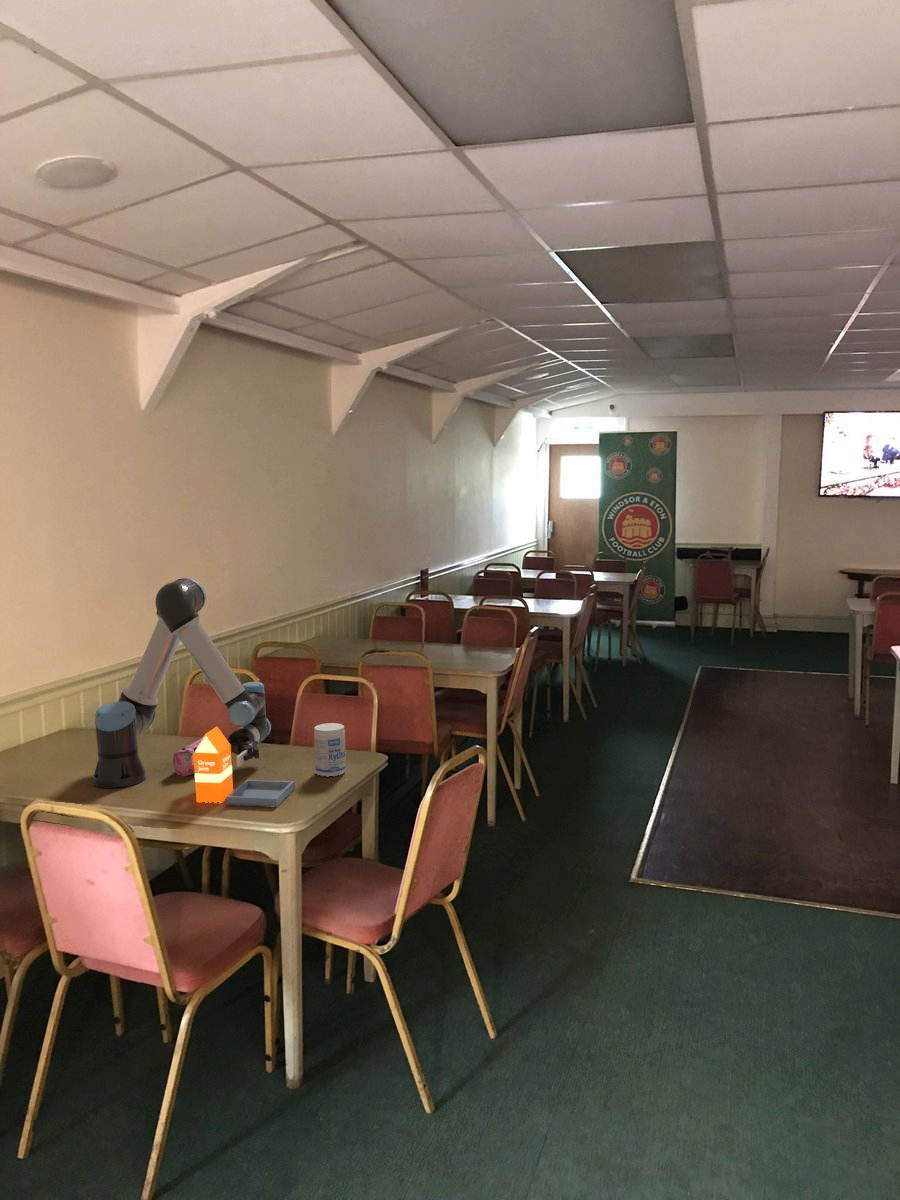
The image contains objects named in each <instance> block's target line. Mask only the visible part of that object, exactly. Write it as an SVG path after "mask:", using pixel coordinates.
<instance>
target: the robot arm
mask: <svg viewBox="0 0 900 1200" xmlns="http://www.w3.org/2000/svg"><path fill="white" fill-rule="evenodd" d="M206 598H207V595H206V592H205V588H204V587H203V585H202V584H201V583H199V582H198V581H197V580H195V579H192V578H188V577H187V578H185V577H182V578H178V579H175V580H174V581H172V582H168V583H166V584H164V585H163V586H162V587H160V588H159V590H158V591H157V594H156V595H155V601H154V602H155V604H154V605H155V607H156V608H155V609H156V613H155V615H156V616H157V618H158V621H157V622H156V625H155V627H154V630H153V632H152V634H151V635H150V636H151V637H150V638H149V641H148V644H147V645H146V648H145V651H144V652H143V656H142V658H141V660H140V662H139V664H138V666H137V669H136V672H135V674H134V676H133V678H132V680H131V683H130V685H129V686H126V687H124V688H123V689H122V691H121V693H120V696H119V698H118V701H113V702H109V703H107V704H103V705H101V706H99V707H98V708H97V709H96V711H95V713H94V725H95V735H96V736H95V737H96V745H97V746H96V748H97V758H98V759H97V761H96V765H95V769H94V774H93V784H95V785H96V786H95V785H94V786H95V787H97V786H98V788H101V787H103V788H102V789H118V788H117V787H120V788H125V787H130V785H131V786H134V785H136V784H140V783H142V782H143V781H145V780H146V778H147V771H146V768H145V765H144V763H143V762H142V759H141V757H140V755H139V745H138V743H139V741H138V736H139V735H141V733H144V732H145V731H147V730H148V729H149V728H150V726H151V725H152V724H153V722H154V720H155V718H156V712H157V711H156V710H157V708H158V705H159V699H158V696H157V695H158V693H159V690H160V687H161V685H162V683H163V681H164V679H165V676H166V674H167V671H168V669H169V667H170V666H171V665H170V664H171V662H172V660H173V657H174V656H175V653H176V651H177V649H178V647H179V644H180V642H181V643H182V645H183V646H184V648H185V649H186V650H187V652H188V654H189V655H190V656H191V658H192V659H193V660H194V662H195V664H196V665H197V667H198V668H199V669H200V671H201V673H202V674H203V675H204V677H205V678H206V680H207V681H208V683H209V684H210V685H211V688H213V689H214V692H215V693H216V694H217V695H218V697H219V699H220V700H221V701H222V703H223V704H224V706H225V708H226V709H227V710H228V719H229V721H230V723H232V725H234V726H236V727H238V728H237V729H236V730H235V731H233V732H231V733H230V734H229V735H228V737H227V741H228V742H229V743H230V745H231V754H232V753H233V754H234V755H237V756H236V757H235V759H236V767H240V766H242V765H243V764H244V763H246V761H249V760H252V759H253V758H255V759H259V758H260V750H259V743H262V742H263V741H264V740H265V739H266V738H267V737H268V736H269V734H270V733H271V730H272V724H271V722H270V721H269V719H268V718H267V714H266V713H267V712H266V692H265V685H264V683H262V682H260V681H249V682H245V683H241V681H240V680H239V679H238V677H237V675H236V674H235V672H234V671H233V670H232V668H231V667H230V665H229V663H228V662H227V661H226V660H225V658H224V656H223V654H221V652H220V651H219V649H218V648H217V646H216V645H215V642H213V640H212V639H211V637H210V635H209V634H208V633H207V632H206V629H205V628H204V627H203V626H202V624H201V623H200V615H199V612H200V611H201V610H202V609H203V607H204V606H205V604H206V601H207V600H206ZM196 749H197V747H195V748H194V752H195V751H196ZM192 765H194V754H193V755H192ZM144 779H145V780H144ZM139 782H140V783H139Z"/></svg>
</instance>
